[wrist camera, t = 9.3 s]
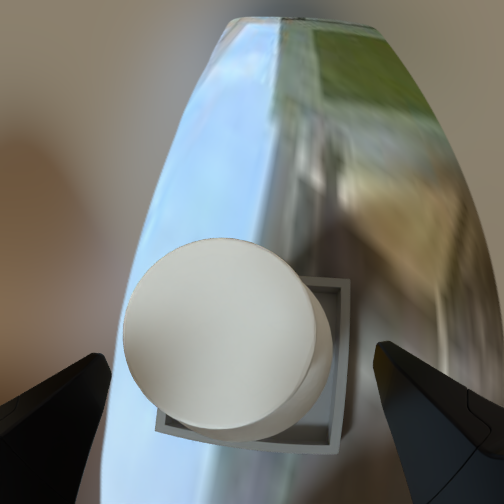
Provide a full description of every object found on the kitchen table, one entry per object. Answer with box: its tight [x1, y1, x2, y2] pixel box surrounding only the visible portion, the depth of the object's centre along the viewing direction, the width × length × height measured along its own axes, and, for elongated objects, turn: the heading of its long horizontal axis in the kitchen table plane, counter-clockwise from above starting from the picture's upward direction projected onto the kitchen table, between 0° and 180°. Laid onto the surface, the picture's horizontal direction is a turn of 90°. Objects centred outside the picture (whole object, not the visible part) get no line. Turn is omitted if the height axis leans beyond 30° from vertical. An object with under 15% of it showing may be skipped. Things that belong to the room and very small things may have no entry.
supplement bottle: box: [123, 238, 333, 442], centre depth 12 cm, size 7×7×13 cm
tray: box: [155, 276, 350, 454], centre depth 18 cm, size 11×11×2 cm
